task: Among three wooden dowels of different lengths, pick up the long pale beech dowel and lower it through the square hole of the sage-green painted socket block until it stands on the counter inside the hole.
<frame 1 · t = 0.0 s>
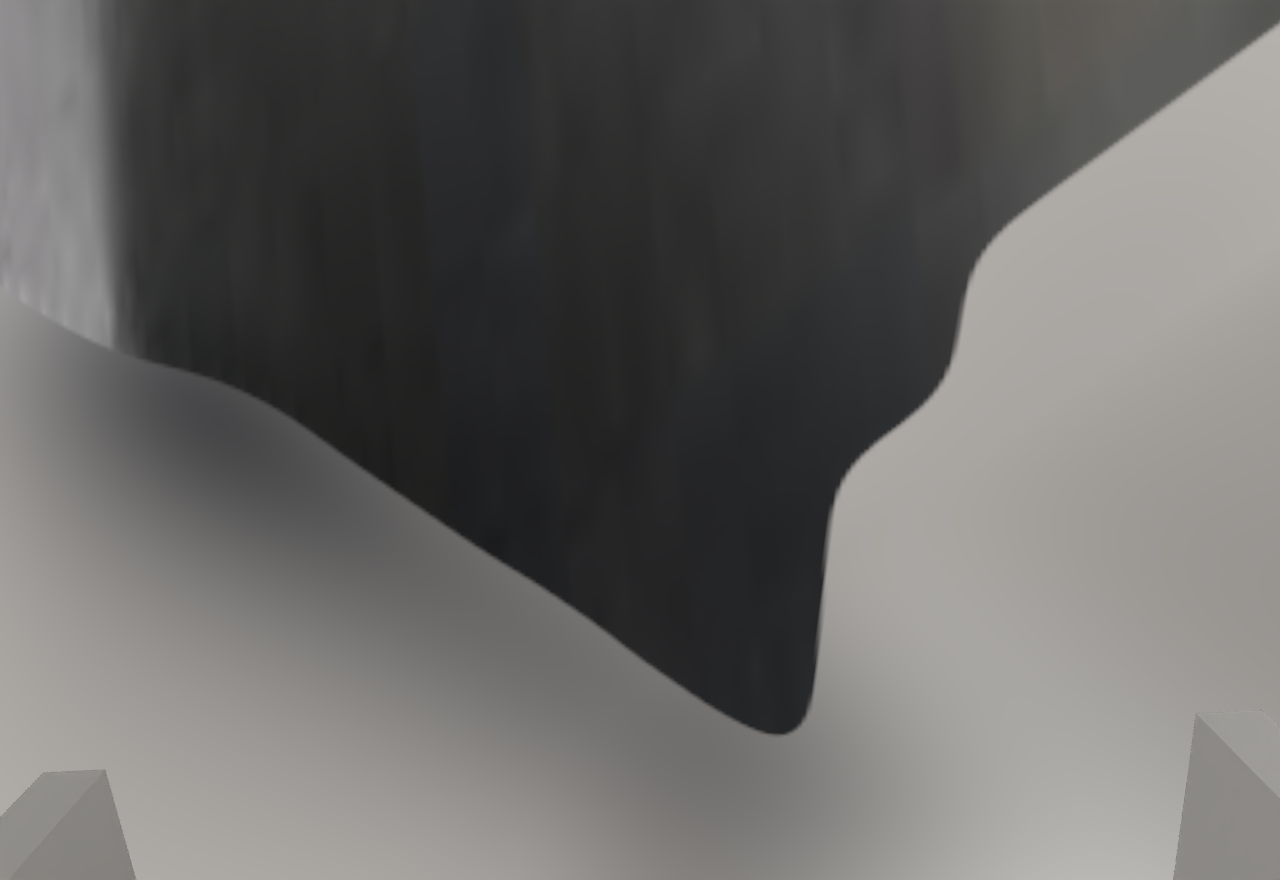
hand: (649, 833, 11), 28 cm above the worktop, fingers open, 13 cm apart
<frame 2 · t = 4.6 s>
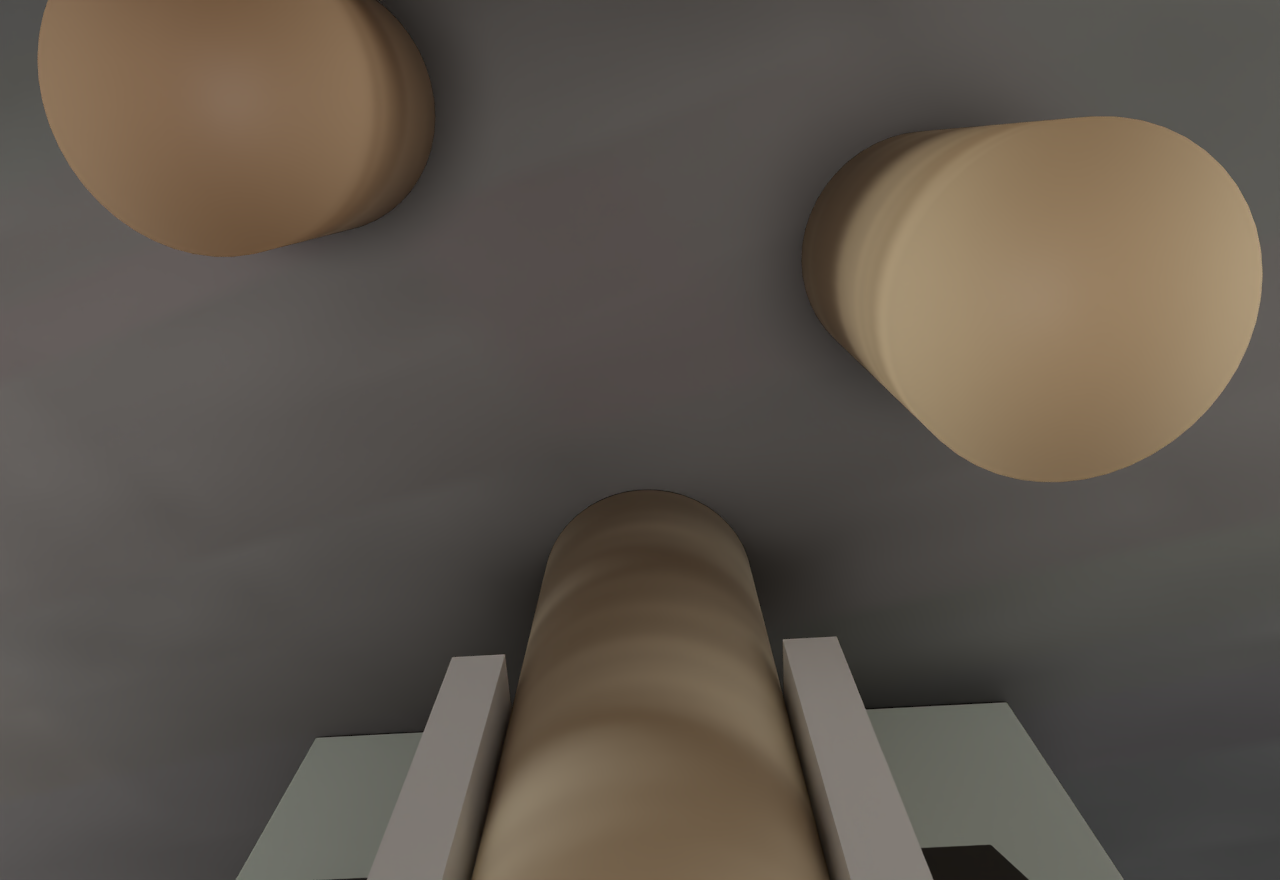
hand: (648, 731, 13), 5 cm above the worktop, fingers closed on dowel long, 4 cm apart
dowel mid: (918, 253, 16), on the worktop
dowel long: (648, 587, 18), on the worktop, touching gripper
dowel short: (314, 108, 15), on the worktop
when the fingers open (7 cm above the worktop, at t = 9.3 s): dowel long drops 2 cm, resting in socket block.
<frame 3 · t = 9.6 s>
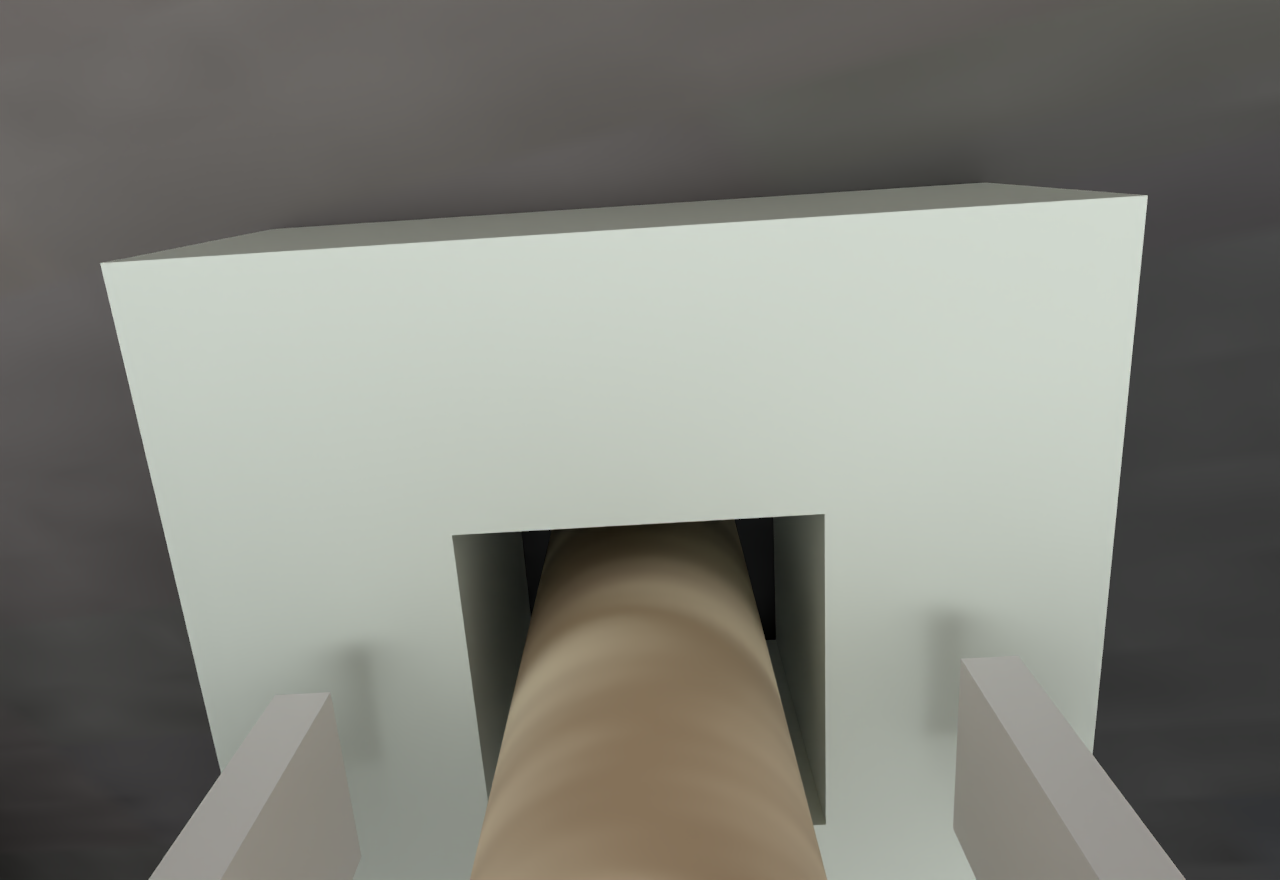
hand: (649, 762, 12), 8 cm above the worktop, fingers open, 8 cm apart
socket block: (647, 534, 20), on the worktop
dowel long: (644, 535, 20), resting in socket block
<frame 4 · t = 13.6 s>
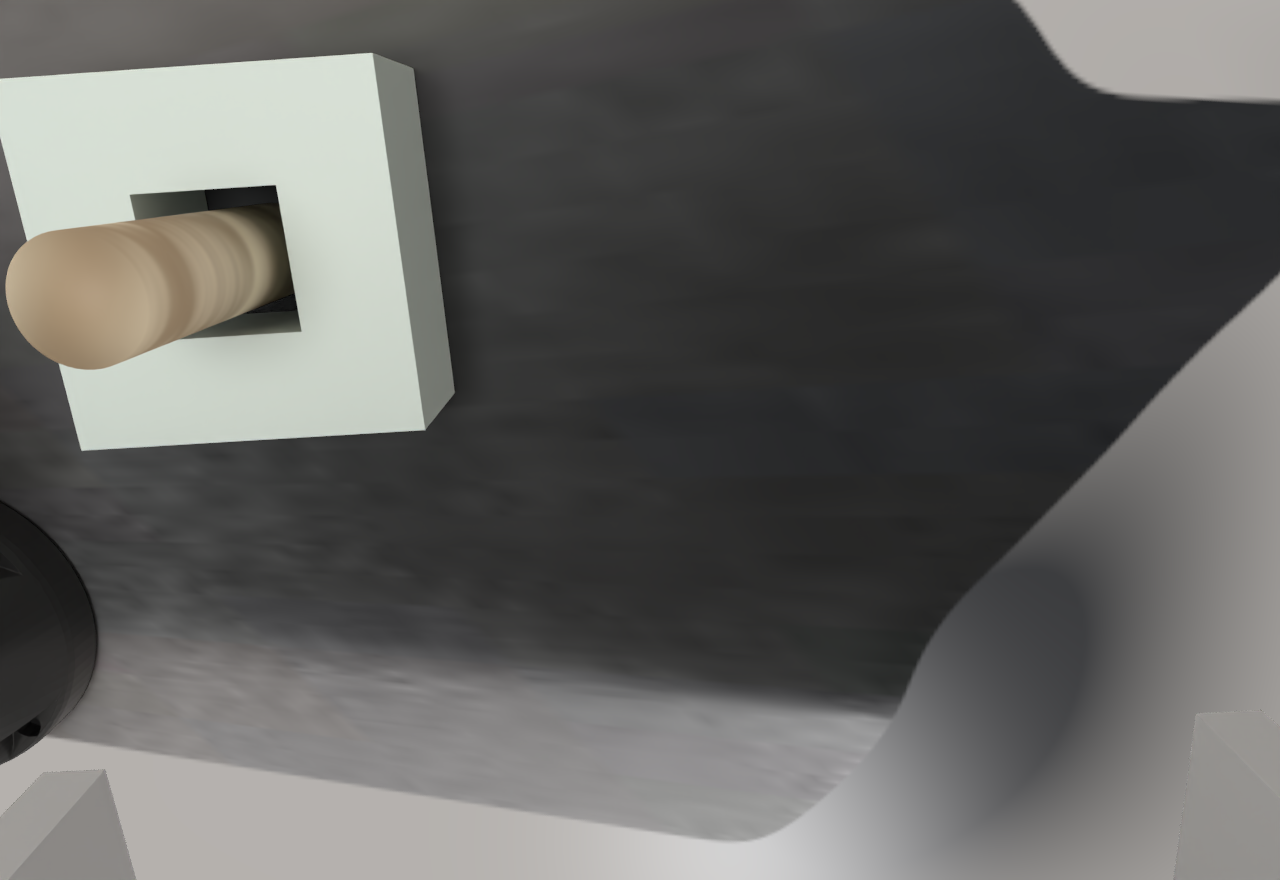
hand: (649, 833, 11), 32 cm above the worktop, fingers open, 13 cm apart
socket block: (278, 249, 40), on the worktop
dowel long: (276, 249, 40), resting in socket block
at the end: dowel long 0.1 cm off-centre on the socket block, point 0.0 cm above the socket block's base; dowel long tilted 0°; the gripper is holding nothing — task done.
